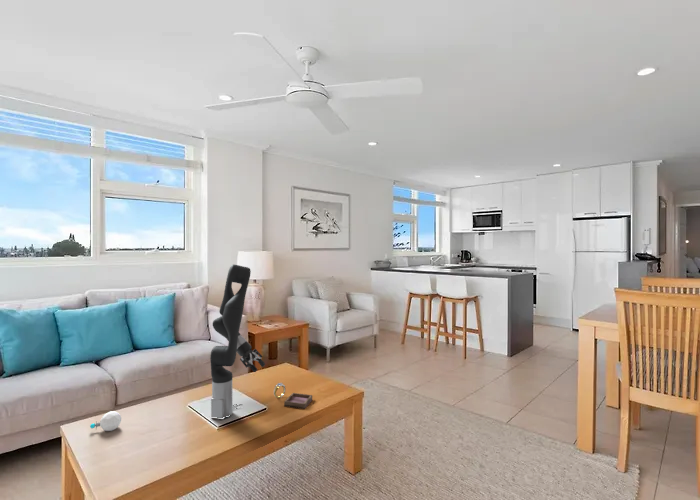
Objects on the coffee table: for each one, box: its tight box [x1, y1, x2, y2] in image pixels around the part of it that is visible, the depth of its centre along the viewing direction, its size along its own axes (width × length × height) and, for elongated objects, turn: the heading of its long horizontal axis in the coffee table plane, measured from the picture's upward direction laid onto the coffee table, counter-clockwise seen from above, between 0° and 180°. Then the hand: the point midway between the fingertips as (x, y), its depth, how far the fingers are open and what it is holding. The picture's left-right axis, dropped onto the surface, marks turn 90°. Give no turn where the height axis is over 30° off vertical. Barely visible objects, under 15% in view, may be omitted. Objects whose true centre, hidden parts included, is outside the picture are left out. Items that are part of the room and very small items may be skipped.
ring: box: [273, 382, 287, 399], centre depth 199 cm, size 7×3×8 cm, turn 133°
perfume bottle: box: [89, 410, 122, 432], centre depth 164 cm, size 8×8×12 cm
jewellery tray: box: [283, 392, 313, 410], centre depth 193 cm, size 11×11×2 cm
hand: (260, 368), depth 201 cm, fingers open, 8 cm apart
